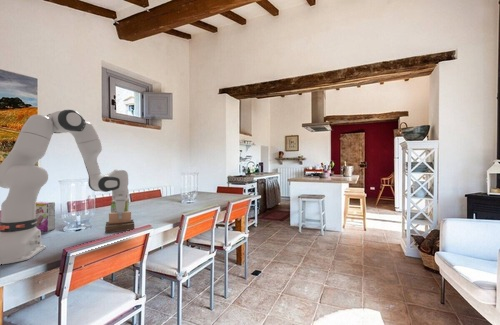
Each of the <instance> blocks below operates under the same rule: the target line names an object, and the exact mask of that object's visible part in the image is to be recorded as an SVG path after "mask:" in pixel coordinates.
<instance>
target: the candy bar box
mask: <svg viewBox="0 0 500 325" xmlns="http://www.w3.org/2000/svg"><path fill="white" fill-rule="evenodd" d="M55 206H56V203H55V201H52V202H51V201H36V216H35V218H37V226H36V227H37V228H38V229H39V230H41V232H51V231H53V230H55V226H56V222H55V221H56V218H55V216H56V215H55V214H56V210H55V209H56V207H55Z"/></svg>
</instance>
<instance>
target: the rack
mask: <svg viewBox="0 0 500 325" xmlns="http://www.w3.org/2000/svg"><path fill="white" fill-rule="evenodd" d="M127 229H129V230H127ZM131 229H133V230H135V222H134V219H132V218H131V222H121V223H111V224H109V221H106V222H105V227H104V230H105V231H104V233H106V232H107V233H114V232H115V231H116V232H122V231H121V230H125V231H131ZM107 233H106V234H107Z"/></svg>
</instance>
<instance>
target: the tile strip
mask: <svg viewBox="0 0 500 325" xmlns="http://www.w3.org/2000/svg"><path fill="white" fill-rule="evenodd" d="M131 220H132V211H131V210H130V211H129V210H128V212H124V213H122V219H119V216H118V213H117V212H116V213H111V212H108V222H109V224H111V223H121V222H131Z"/></svg>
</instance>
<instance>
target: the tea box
mask: <svg viewBox="0 0 500 325" xmlns="http://www.w3.org/2000/svg"><path fill="white" fill-rule="evenodd" d="M129 201H130V199H129V197H128V198H127V199H126V201H125V208H124V212H128V211H129V203H130V202H129ZM116 212H117V211H116V203H115V201H114V199H111V202H110V213H116Z"/></svg>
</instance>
